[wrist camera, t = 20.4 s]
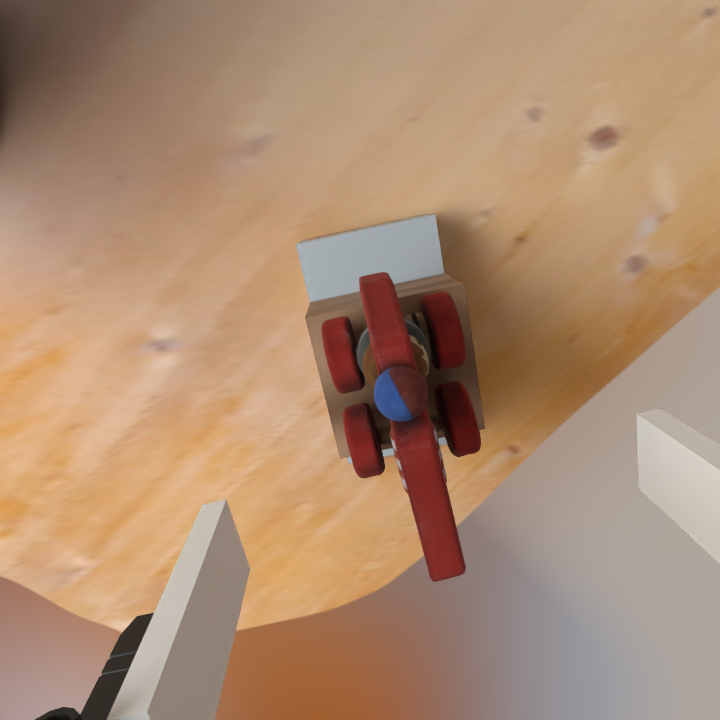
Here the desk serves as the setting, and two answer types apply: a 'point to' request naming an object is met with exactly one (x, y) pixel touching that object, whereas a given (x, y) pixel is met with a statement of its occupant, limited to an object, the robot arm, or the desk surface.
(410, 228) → the plinth
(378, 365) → the toy fire truck
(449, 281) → the walnut block
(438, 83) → the desk surface
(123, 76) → the desk surface
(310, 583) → the desk surface
